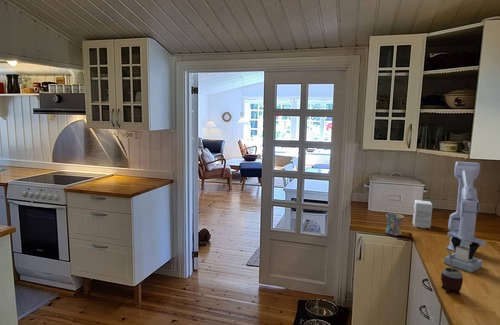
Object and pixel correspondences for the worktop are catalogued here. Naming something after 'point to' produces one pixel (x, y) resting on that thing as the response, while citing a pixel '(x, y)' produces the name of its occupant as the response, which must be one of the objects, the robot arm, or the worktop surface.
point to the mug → (394, 224)
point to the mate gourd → (451, 278)
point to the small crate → (462, 254)
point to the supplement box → (422, 214)
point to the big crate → (464, 264)
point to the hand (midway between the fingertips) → (463, 256)
